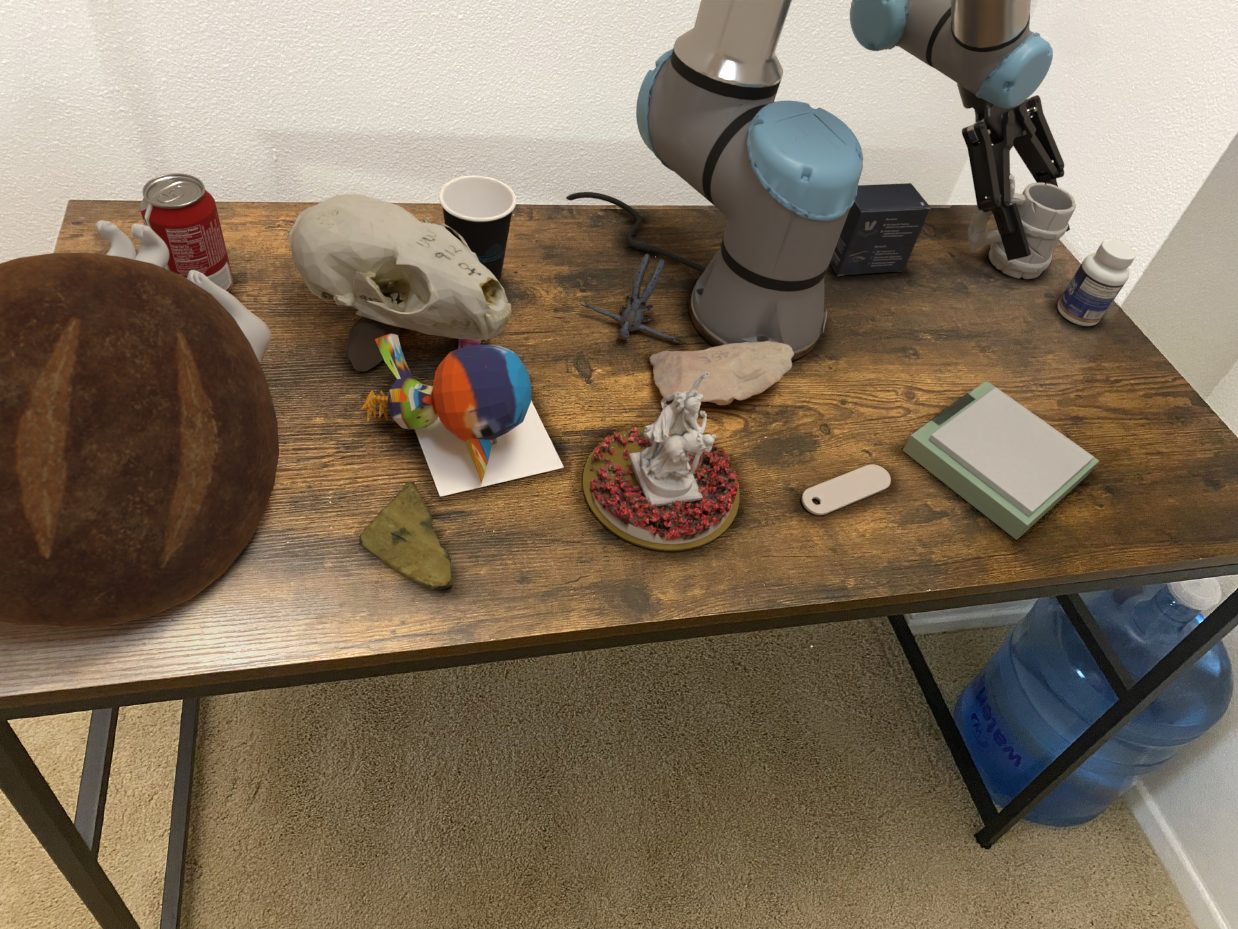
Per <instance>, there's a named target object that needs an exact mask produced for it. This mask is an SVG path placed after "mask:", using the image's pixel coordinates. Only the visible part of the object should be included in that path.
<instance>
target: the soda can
mask: <svg viewBox="0 0 1238 929" xmlns="http://www.w3.org/2000/svg"><path fill="white" fill-rule="evenodd" d="M141 191H142V193H141V194H142V196H143V198H142V200H141V202H140V204H139V211H140V215H141V218H142V221H143V225H145V226H149V227H150V228H151V229H152V230H153V231H154V232H155V233H156V234H157V235H158V236H159V237H160V238H161V239H162V240H163V241H164V242H165V244H166V245H167V247H168V250H169V260H168V263H167V265H166V267H165V269H167V270H170V271H172V272H175V273H177V274H179V275H182V276H184V277H185V278H187V277H188V274H189V271H191V270H195V271H198V272H200V273H203V274H204V275H205V276H206V277H207V278H208V279H209V280H210V281H212V282H213V283H214V284H216V285H217V286H219V287H221V288H222V289H224V290H226V291H227V292H229V293H230V291H231V289H232V288H233V285H234V276H233V272H232V268H231V263H230V259H229V255H228V251H227V246H226V242H225V238H224V234H223V229H222V225H221V221H220V217H219V212H218V208H217V204H216V201H215V198H214V196H213V195H212V194H211V193H210V192H209V191H208V190H207V189H206V186H205V184H204V182H203V181H202V180H201V179H200V178H198V177H196V176H194V175H192V174H188V173H182V172H181V173H179V172H174V173H165V174H161V175H158V176H155V177H153V178H151V179H150V180H148V181H147V182H146V183H145V184H144V185H143V187H142V190H141Z"/></svg>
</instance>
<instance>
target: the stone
mask: <svg viewBox="0 0 1238 929" xmlns="http://www.w3.org/2000/svg"><path fill="white" fill-rule="evenodd" d="M415 483H416V482H415V481H408V482H405V484H404V485H403V487H402V489H401V490H400V491H399V492H398V493H397V495H395V496H394V498H393V499H392V500H391V501H390V502H389V503H387V505H386V506H385V507H383V509H381V510H380V511H379V512H378V513H377V515H376V516H375V518H374V519H373V520H372V522H371V523H369V524H368V526H367V525H366V527H364V529H363V531H361V533H360V535H359V544H360V546H362V548H364V549H365V550H366V551H367V552H369V553H370V554H371V555H373V556H374V557H375V558H377V559H378V560H379V561H381V563H383V564H384V565H385V566H386V567H388V568H390V569H391V570H393V571H394V572H395V573H397V574H399V575H400V576H402V577H403V578H405V579H408V580H411V581H412V582H413V583H416V584H417V585H420V586H422V587H424V588H427V589H428V590H432V591H440V590H444V589H447V588H450V587H452V586H453V584H454V580H453V576H452V564H451V563H452V559H451V558H450V557H451V556H450V554H449V551H447V549H446V548H444V547H441V543H440V542H441V541H440V539H439V538H438V535H437V533H436V531H435V530H434V527H433V526H434V525H433V523H432V522H433V515H432V514H431V511H430V508H429V507H428V506H427V505H426V504H425V502H424V500H423V498H422V496H421V493H420V492H419V490H418V487H417V485H416V484H415Z"/></svg>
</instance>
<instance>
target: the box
mask: <svg viewBox="0 0 1238 929" xmlns="http://www.w3.org/2000/svg"><path fill="white" fill-rule="evenodd" d="M931 210H932V207H931V206H930V205H929V203H928V202H927V200H925V198H924V197H923V196H922V195H921V193H920V192H919V190H917V189H916V187H915V186H914V184H913V183H911V182H908V183H905V182H904V183H883V184H882V183H881V184H880V183H879V184H860V185H859V184H858V188H857V196H856V198H855V201H854V203H853V205H852V207H851V208H850V210H849V213H848V216H847V218H846V221H845V224H844V226H843V229H842V232H841V234H840V237H839V239H838V242H837V245H836V247H835V250H834V253H833V255H832V258H831V261H830V263H829V265H830V266H831V268H832V270H833V271H834V273H835V274H836V276H837V277H842V276H845V275H846V276H847V275H865V274H876V273H877V274H879V273H880V274H881V273H896V272H897V273H901V272H902V273H903V272H904V271H905V270H906V268H907V265H908V263H909V260H910V258H911V255H912V253H913V250H914V248H915V245H916V244H917V241H918V239H919V236H920V234H921V232H922V230H923V227H924V225H925V223H926V220H927V218H928V216H929V214H930V211H931Z"/></svg>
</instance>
